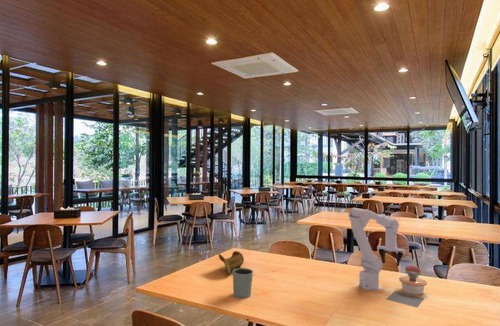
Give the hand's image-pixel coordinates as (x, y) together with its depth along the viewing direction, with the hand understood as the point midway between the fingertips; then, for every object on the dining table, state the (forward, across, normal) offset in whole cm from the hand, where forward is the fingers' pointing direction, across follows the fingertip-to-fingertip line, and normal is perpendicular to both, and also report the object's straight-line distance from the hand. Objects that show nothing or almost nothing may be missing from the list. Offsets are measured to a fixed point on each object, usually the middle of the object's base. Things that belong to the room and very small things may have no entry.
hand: (390, 264), depth 184 cm
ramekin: (+11, -13, +6) cm, 18 cm away
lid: (+5, -13, +6) cm, 15 cm away
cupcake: (+11, -7, -18) cm, 22 cm away
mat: (+10, -13, +20) cm, 26 cm away
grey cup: (+10, +50, +69) cm, 86 cm away
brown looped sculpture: (+10, +81, +44) cm, 93 cm away
